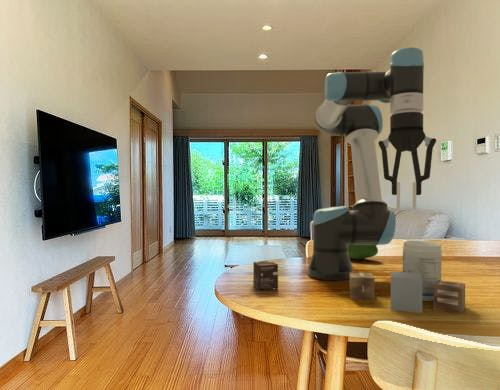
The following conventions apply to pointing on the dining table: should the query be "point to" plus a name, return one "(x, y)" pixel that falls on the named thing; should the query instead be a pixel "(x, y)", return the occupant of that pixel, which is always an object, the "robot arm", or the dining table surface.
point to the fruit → (362, 251)
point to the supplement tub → (423, 264)
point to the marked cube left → (362, 286)
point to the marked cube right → (449, 296)
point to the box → (265, 275)
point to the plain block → (406, 291)
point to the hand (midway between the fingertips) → (406, 208)
